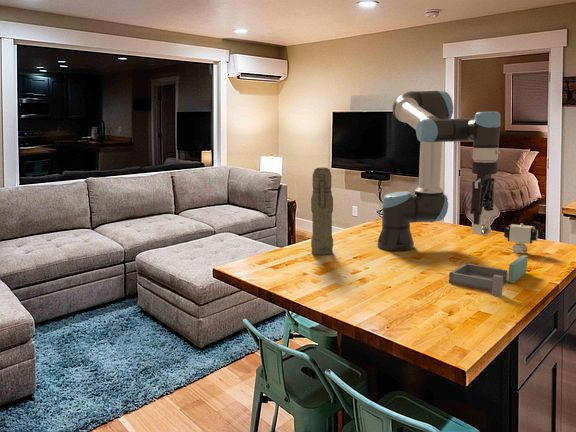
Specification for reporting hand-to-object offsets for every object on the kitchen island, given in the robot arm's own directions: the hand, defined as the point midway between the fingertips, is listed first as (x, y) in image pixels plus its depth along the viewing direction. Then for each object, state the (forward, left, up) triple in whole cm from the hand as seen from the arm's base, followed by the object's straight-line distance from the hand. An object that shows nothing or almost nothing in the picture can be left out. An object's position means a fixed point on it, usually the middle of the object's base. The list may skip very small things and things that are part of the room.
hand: (480, 231), depth 159 cm
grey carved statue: (-63, -2, -17) cm, 65 cm away
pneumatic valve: (0, +47, -17) cm, 50 cm away
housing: (+2, -2, -17) cm, 17 cm away
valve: (0, 0, -1) cm, 1 cm away
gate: (+9, +12, -17) cm, 23 cm away
